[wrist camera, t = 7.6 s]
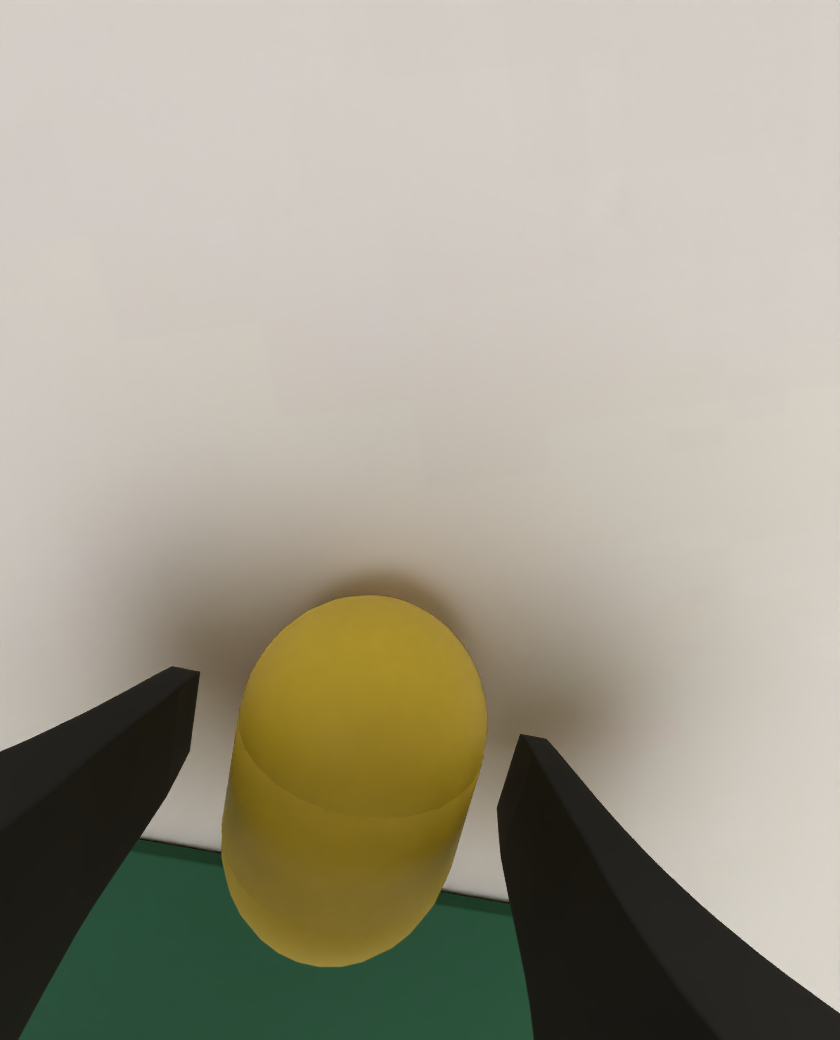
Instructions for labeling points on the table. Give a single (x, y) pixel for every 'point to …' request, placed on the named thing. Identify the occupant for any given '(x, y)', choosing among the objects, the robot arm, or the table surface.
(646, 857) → the robot arm
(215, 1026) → the cloth
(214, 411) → the table surface
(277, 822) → the yellow capsule toy
